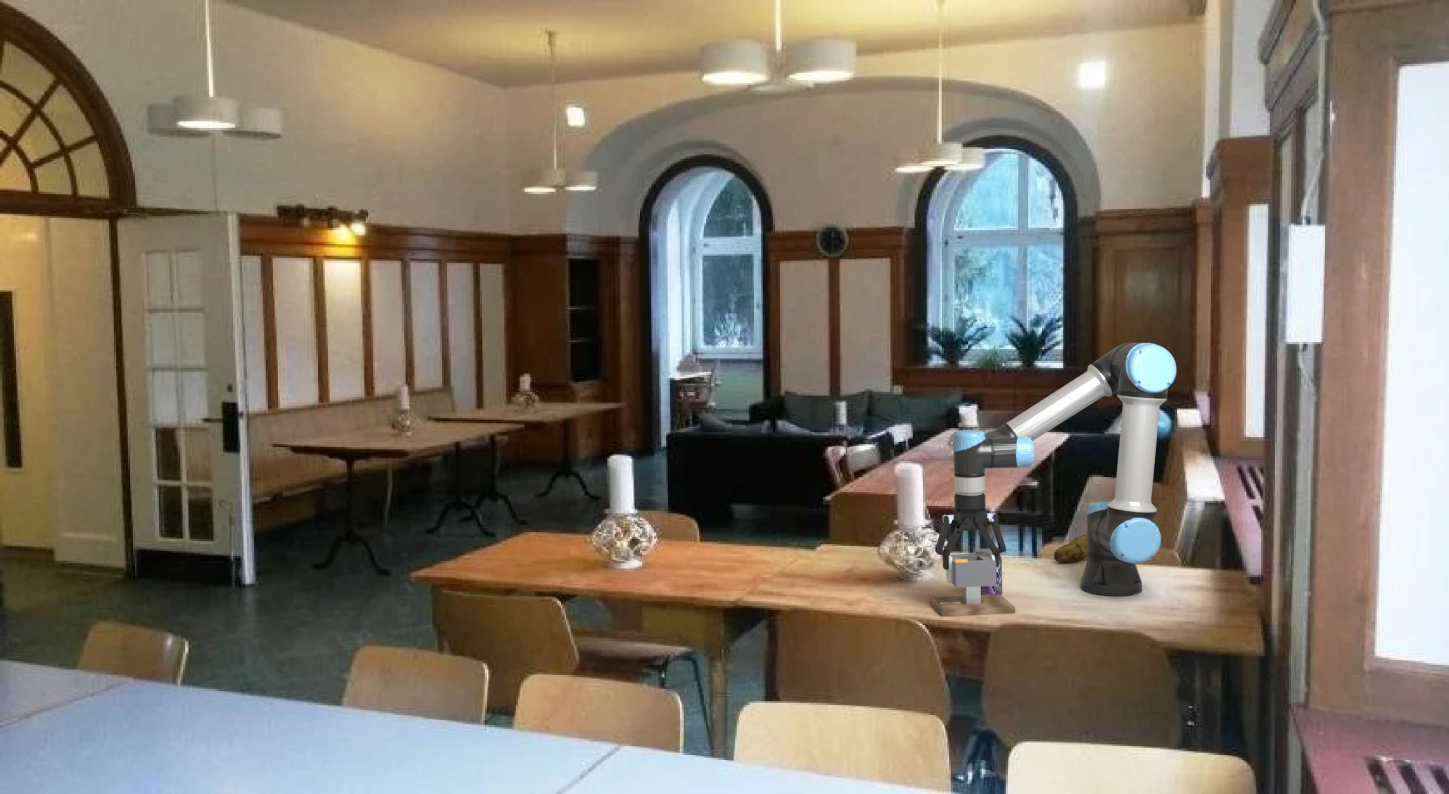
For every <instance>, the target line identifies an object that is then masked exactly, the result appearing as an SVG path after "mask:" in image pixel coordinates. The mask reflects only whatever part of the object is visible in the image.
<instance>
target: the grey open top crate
mask: <svg viewBox="0 0 1449 794" xmlns="http://www.w3.org/2000/svg"><path fill="white" fill-rule="evenodd" d="M950 556H951V557H952V579H953V583H951V584H952V585H953V586H954V587H955V588H963V587H982V586H996V561H995V560H993V559H992V558H991V557H989V556H988V555H987V554H985V553H981V554H976V553H960V554H957V553H956V554H950ZM945 573H946V575H945V576H947V570H946V572H945Z"/></svg>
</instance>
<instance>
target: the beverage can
mask: <svg viewBox="0 0 1449 794" xmlns="http://www.w3.org/2000/svg"><path fill="white" fill-rule="evenodd" d="M981 553H985V554H987V555H988V556H989V554H990V553H992V551H991V549H990V548H979V549H976V550H975V553H974V554H981ZM995 594H1000V595H1002V596H1003V558H1002V556H1001V554H1000V555H999V566H998V567H996V586H982V587H981V595H995Z"/></svg>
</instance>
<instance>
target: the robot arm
mask: <svg viewBox="0 0 1449 794" xmlns="http://www.w3.org/2000/svg"><path fill="white" fill-rule="evenodd" d="M1086 370H1087V371H1085V372H1084V373H1082V374H1081V375H1079V376H1078V377H1076V378H1074V379H1073V380H1071V381H1069V382H1068V383H1067V384H1065V385H1063V386H1062V387H1060V388H1059V389H1057V390H1055V391H1054V392H1053V393H1051V394H1049V395H1048V396H1046V397H1045V398H1043V399H1042V400H1040V401H1038V402H1037V403H1036V404H1034V405H1033V406H1031V407H1029V408H1028V409H1026V410H1025V411H1023V412H1021V413H1020V414H1018V415H1017V416H1015V417H1013V418H1012V419H1010V420H1008V421H1007V422H1006V423H1004V424H1002V425H1000V427H998V428H996V429H993V430H989V431H988V430H987V431H986V432H984V431H983V430H978V429H964V430H963V429H961V430H958V431H956V432H955V433H954V435H953V449H952V451H953V470H954V471H953V474H954V475H953V480H954V487H953V489H954V491H955V494H954V495H953V496H954V502H953V503H954V511H953V513H952V514H948V515H947V514H942V515H941V527H940V530H939V531H940V532H939V535H938V537H937V538H938V539H937V541H936V546H935V550H934V552H935V553H936V554H937V556H941V557H942V567H943V570H947V575H946V582H947V583H949V584H952V583H953V579H952V557H951V556H950V555H951V553H952V551H953V550H954V548H955V546H956V543H958V540H959V538H960V536H961V535H962V534H963V533H964V531H965V532H967V531H979V533H980V534H981V536H982V537H983V539H984V541H985V543H986V544H987V546H988V547H989V548H988V549H991V551H992V553H990V554H989V557H991V558H992V559H993V560H995V561H996V567H998V566H999V555H1000V556H1001V554H1002V553H1006V551H1007V546H1006V545H1005V544H1006V543H1005V540H1004V538H1003V535H1002V530H1001V528H1000V525H999V514H998V513H996V512H989V513H988V512H987V511H986V494H985V493H984V492H985V491H986V469H1005V468H1006V469H1009V468H1012V469H1013V468H1016V469H1021V468H1028V467H1031V466H1032V465H1033V464H1034V461H1035V445H1034V442H1033V441H1035V440H1037V439H1038V438H1040V437H1042V436H1043V435H1045V434H1046V433H1048V432H1049V431H1051V430H1052V429H1054V428H1055V427H1057V426H1058V425H1060V424H1062V423H1063V422H1065V421H1066V420H1069V419H1070V418H1072V417H1073V416H1075V415H1076V414H1078V413H1079V412H1081V411H1082V410H1083V409H1086V408H1087V407H1088V406H1090V405H1092V404H1093V403H1095V402H1096V401H1099V400H1100V399H1101V398H1103V397H1112V396H1113V395H1115V394H1117V395H1116V396H1117V398H1119V400H1120V401H1121V402H1122V409H1121V410H1122V411H1121V422H1120V423H1121V424H1120V435H1119V436H1120V437H1119V447H1118V455H1117V456H1118V457H1117V468H1116V478H1115V479H1116V481H1115V493H1114V498H1113V499H1112V500H1111V501H1097V502H1091V503H1089V504H1088V505H1087V509H1086V511H1087V512H1086V531H1087V533H1086V534H1087V543H1088V557H1087V561H1086V563H1085V566H1084V568H1083V569H1084V570H1083V573H1082V576H1081V579H1080V589H1081V590H1082V591H1084V592H1087V593H1089V594H1090V593H1091V594H1094V595H1101V596H1131V595H1135V594H1139V593H1141V592H1142V591H1143V585H1142V584H1143V582H1142V578H1141V575H1140V573H1139V570H1138V567H1137V564H1141V563H1145V562H1148V561H1150V560H1151V559H1152V558H1153V557H1154V556H1156V555H1157V553H1158V552H1159V550H1160V548H1161V544H1162V543H1161V542H1162V535H1161V532H1160V530H1159V527H1158V526H1157V524H1156V523H1157V513H1158V511H1157V508H1156V507H1155V505H1154V504H1153V503H1152V494H1153V484H1154V483H1153V482H1154V473H1155V472H1154V471H1155V462H1156V459H1155V458H1156V451H1157V450H1156V449H1157V438H1158V429H1159V414H1160V407H1161V406H1162V405H1163V404H1164V403H1165V402H1166V401H1167V399H1168V392H1169V391H1168V390H1169V387H1170V386H1171V385H1172V384H1173V382H1174V381H1175V379H1176V376H1177V364H1176V360H1175V358H1174V356H1173V355H1172V354H1171V353H1170V351H1169V350H1167V348H1165V347H1163V346H1161V345H1159V344H1156V343H1153V342H1152V343H1151V342H1135V341H1133V342H1132V341H1131V342H1125V343H1122V344H1120V345H1118V346H1116V347H1114V348H1113V349H1111V350H1109V351H1108V352H1107V353H1106V354H1104V355H1102V356H1101V357H1100V358H1098V359H1096V360H1095V361H1093V362H1092V363H1091V364H1089V365H1088V366H1087V369H1086ZM987 519H988V522H990V523H991V527H992V530H993V531H992V532H993V534H994V537H995V540H996V544H997V545H996V544H995V542H994V541H993V540H992V538H991V536H990V534H989V532H988V531H987V529H986V527H985V525H984V524H985V522H986V520H987ZM953 521H954V522H955V523H956V525H955V527H954V529H953V532H952V533H951V535H950V537H949V539H948V541H947V542H946V539H947V536H948V533H949V528H950V524H952V522H953ZM945 543H946V545H945ZM997 546H998V547H997Z"/></svg>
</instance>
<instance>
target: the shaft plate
mask: <svg viewBox="0 0 1449 794" xmlns="http://www.w3.org/2000/svg"><path fill="white" fill-rule="evenodd" d="M929 599H930V605H932V607H933V608H934V609H935V610H936V611H937V613H939V614H940V616H941V617H955V616H957V617H959V616H960V617H961V616H978V615H980V616H981V615H983V616H984V615H1000V614H1002V615H1003V614H1016V605H1014V604H1012V603H1011V602H1010V601H1009V600H1007V598H1005V597H1004V596H1003V594H1002V595H1000V594H995V595H981V604H966V603H965V602H964V601H963V595H959V596H958V595H957V596H936V597H935V596H934V597H933V596H932V597H930V598H929Z"/></svg>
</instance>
